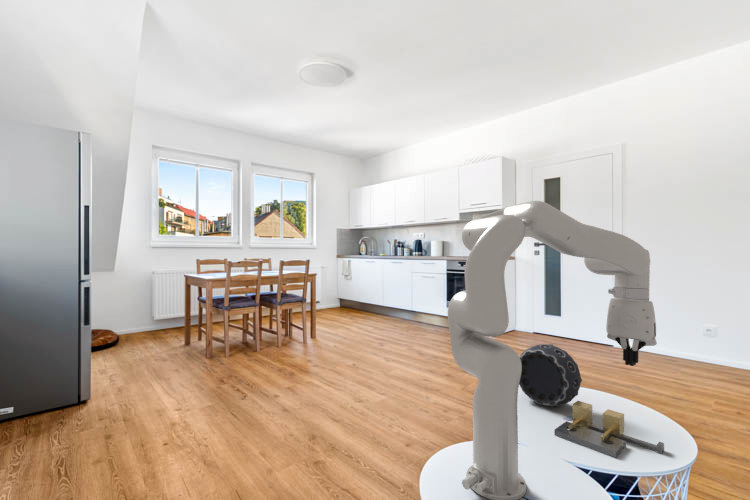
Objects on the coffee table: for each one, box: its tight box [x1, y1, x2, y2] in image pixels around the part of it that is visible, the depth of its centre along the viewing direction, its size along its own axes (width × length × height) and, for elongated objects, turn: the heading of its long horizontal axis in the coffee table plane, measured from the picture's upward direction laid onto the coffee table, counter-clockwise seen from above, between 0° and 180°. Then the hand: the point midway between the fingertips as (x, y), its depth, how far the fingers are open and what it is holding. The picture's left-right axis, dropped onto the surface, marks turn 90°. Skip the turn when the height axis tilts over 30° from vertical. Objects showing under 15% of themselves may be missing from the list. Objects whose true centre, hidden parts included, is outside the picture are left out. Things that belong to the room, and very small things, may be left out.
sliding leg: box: [601, 408, 625, 440], centre depth 98 cm, size 11×4×5 cm, turn 130°
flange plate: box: [553, 421, 627, 459], centre depth 98 cm, size 8×15×2 cm, turn 40°
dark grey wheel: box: [519, 343, 583, 408], centre depth 122 cm, size 11×20×20 cm, turn 37°
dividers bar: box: [569, 400, 665, 455], centre depth 98 cm, size 11×21×6 cm, turn 40°
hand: (630, 364), depth 94 cm, fingers closed
